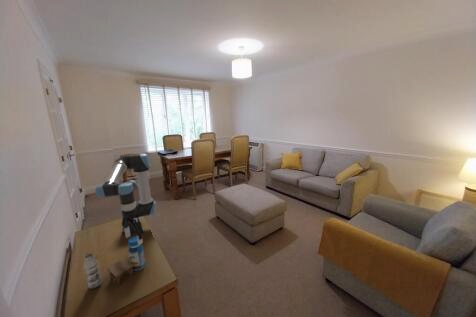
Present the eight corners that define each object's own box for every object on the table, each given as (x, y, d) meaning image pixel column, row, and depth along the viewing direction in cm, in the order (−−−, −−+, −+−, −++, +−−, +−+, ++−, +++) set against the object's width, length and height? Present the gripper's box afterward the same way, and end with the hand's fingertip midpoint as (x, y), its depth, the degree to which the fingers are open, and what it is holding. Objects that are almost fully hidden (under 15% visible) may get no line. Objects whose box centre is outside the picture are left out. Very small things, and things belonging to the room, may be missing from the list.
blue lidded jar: (147, 266, 127) (143, 239, 122) (133, 273, 121) (128, 245, 117) (143, 259, 133) (139, 233, 128) (129, 266, 127) (124, 239, 123)
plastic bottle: (94, 280, 117) (87, 251, 112) (105, 281, 116) (98, 252, 112) (85, 290, 111) (77, 259, 106) (96, 291, 110) (89, 260, 105)
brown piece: (126, 267, 126) (124, 258, 124) (134, 274, 121) (133, 264, 119) (109, 278, 118) (107, 268, 116) (117, 286, 113) (115, 275, 111)
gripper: (112, 206, 121) (117, 237, 126) (134, 216, 108) (140, 250, 113) (124, 202, 127) (129, 231, 132) (147, 210, 114) (151, 243, 119)
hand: (134, 240), depth 122 cm, fingers open, 13 cm apart
